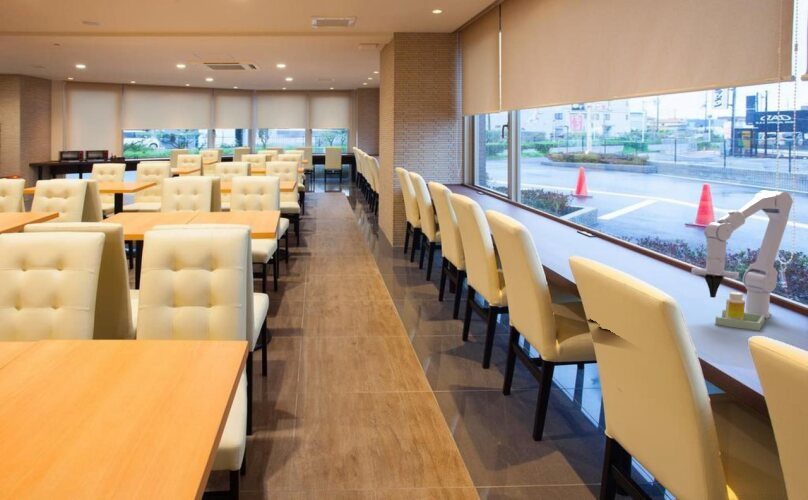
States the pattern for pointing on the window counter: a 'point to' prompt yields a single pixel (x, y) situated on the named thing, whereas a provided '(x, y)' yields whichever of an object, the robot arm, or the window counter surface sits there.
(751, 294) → the robot arm
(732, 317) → the supplement bottle
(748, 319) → the tray
